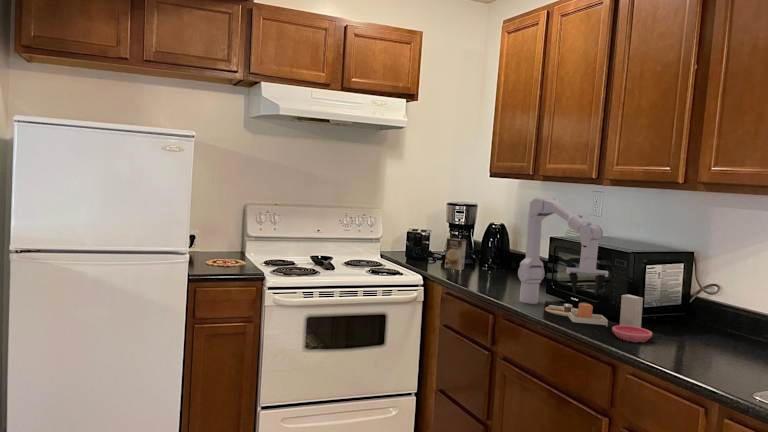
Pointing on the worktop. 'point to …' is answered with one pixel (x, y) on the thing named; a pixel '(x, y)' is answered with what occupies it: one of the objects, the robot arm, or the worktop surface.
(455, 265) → the coffee box
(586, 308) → the block
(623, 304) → the skincare box
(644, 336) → the pink bowl
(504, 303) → the worktop surface
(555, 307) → the dark grey cylinder
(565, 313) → the crank plate
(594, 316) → the tray
